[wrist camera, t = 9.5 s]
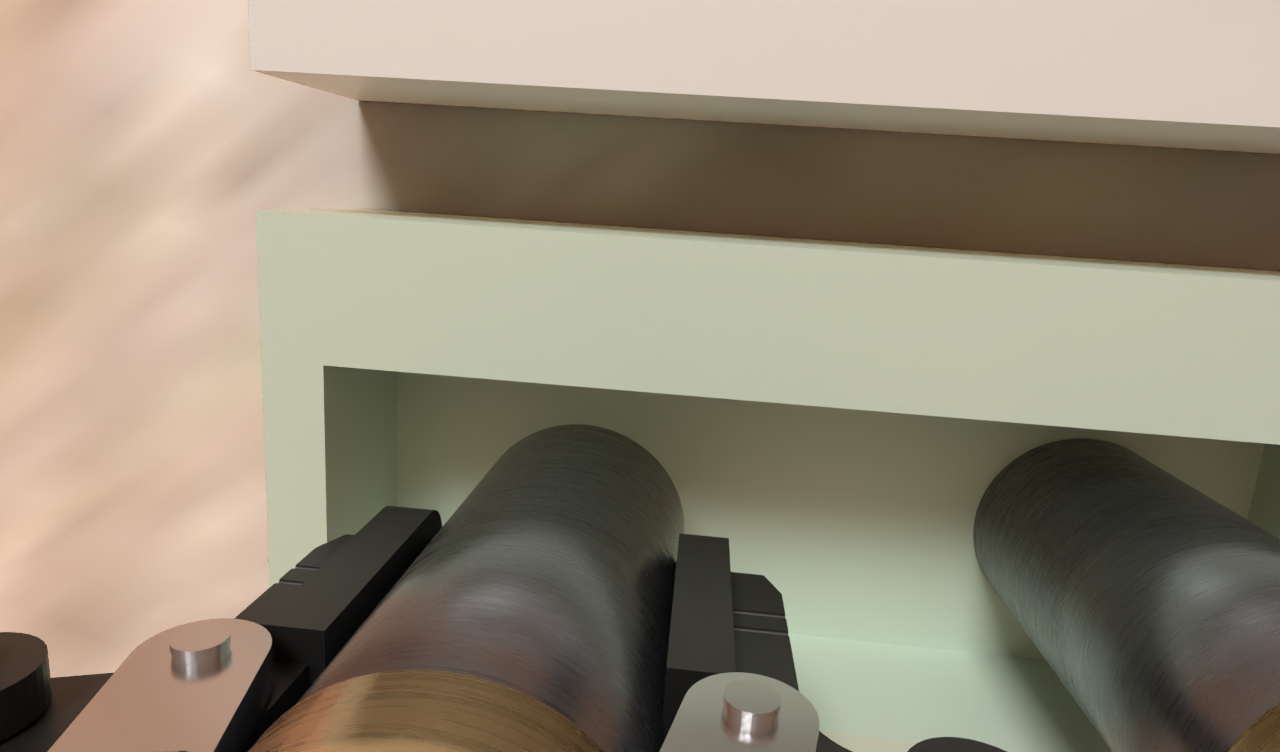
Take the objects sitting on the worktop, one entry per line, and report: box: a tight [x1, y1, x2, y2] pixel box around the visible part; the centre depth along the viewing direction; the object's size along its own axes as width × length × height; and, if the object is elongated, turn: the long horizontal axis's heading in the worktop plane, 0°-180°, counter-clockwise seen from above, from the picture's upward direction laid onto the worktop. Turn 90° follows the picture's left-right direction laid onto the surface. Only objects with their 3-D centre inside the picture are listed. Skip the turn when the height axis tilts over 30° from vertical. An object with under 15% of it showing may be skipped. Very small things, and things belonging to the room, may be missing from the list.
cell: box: [248, 424, 684, 752], centre depth 9 cm, size 4×4×11 cm
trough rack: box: [256, 209, 1280, 752], centre depth 14 cm, size 18×10×4 cm, turn 86°
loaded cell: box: [973, 438, 1280, 752], centre depth 10 cm, size 4×4×11 cm
